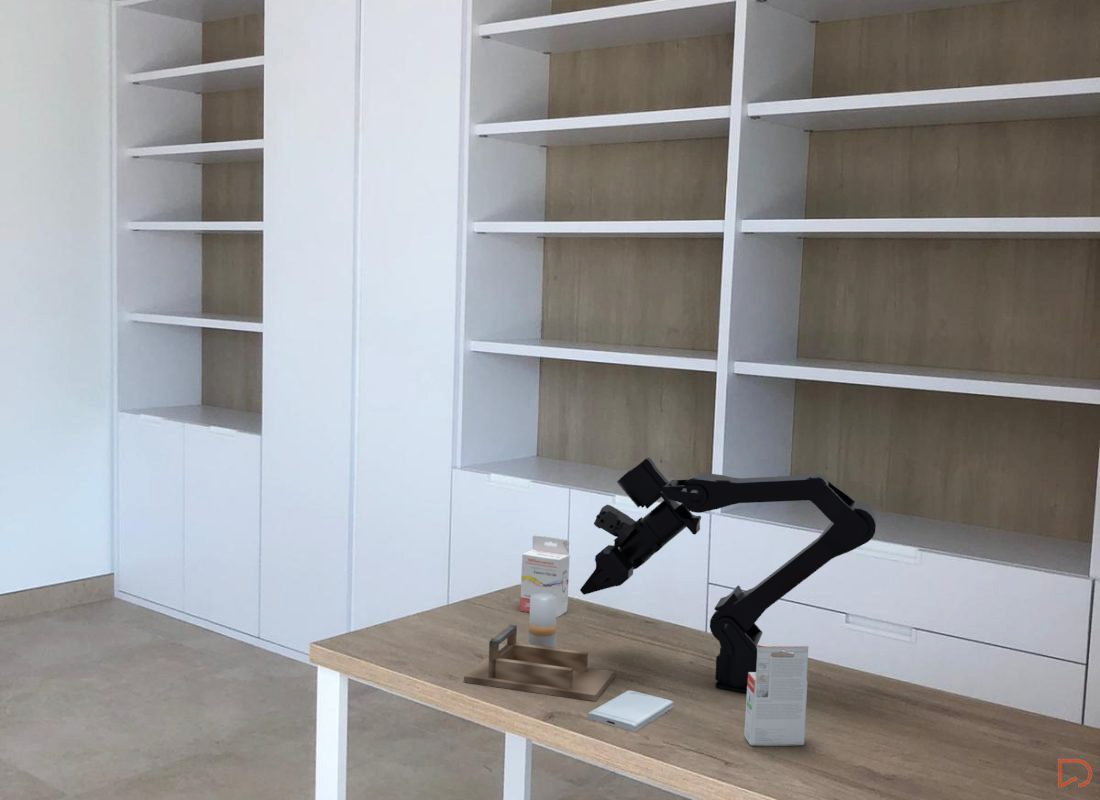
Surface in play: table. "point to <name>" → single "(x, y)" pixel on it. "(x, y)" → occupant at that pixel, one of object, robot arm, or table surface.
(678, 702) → the table surface
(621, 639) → the table surface
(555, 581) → the ink cartridge box
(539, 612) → the white capped grey cylinder
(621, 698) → the hard drive
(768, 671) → the ink box
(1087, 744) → the table surface
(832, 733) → the table surface
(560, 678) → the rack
